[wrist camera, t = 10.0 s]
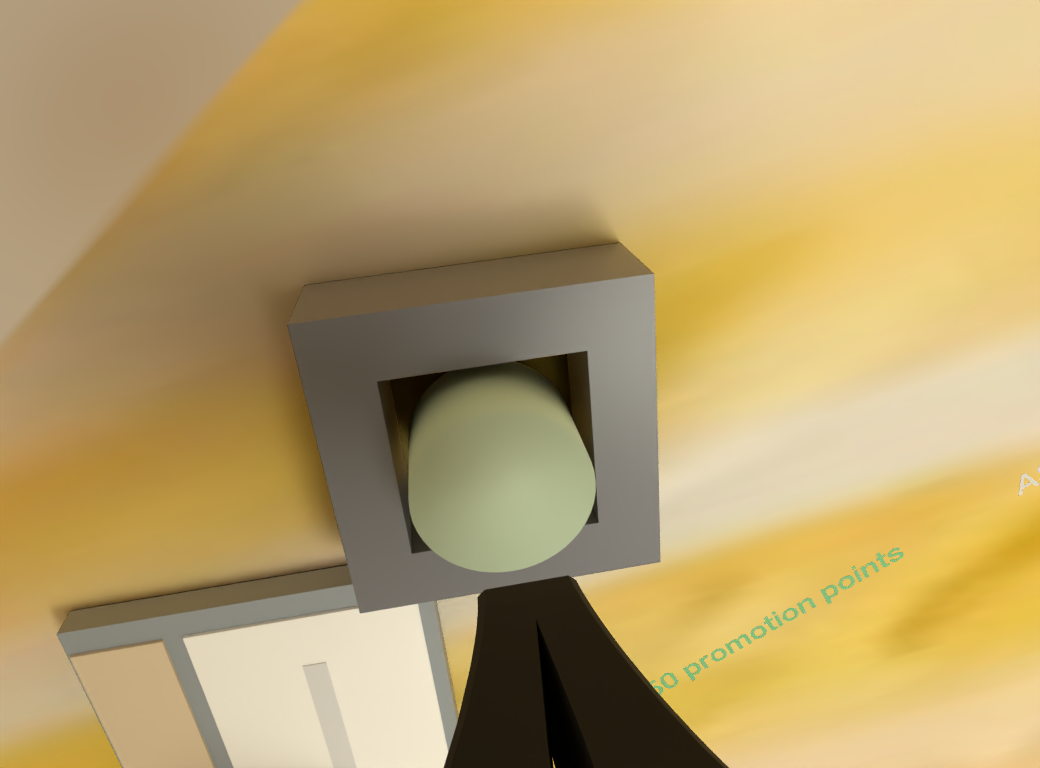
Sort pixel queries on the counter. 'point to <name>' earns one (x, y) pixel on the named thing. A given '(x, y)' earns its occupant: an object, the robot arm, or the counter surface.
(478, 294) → the button housing
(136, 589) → the counter surface
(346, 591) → the board
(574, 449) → the button
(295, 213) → the counter surface
